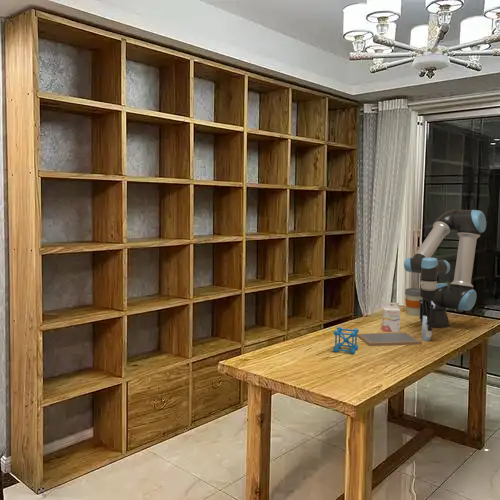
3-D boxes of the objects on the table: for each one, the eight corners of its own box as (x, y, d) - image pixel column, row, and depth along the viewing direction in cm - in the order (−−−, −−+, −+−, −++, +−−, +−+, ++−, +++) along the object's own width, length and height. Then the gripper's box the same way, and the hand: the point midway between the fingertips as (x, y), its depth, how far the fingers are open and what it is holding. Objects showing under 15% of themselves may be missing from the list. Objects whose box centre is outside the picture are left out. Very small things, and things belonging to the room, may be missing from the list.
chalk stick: (427, 338, 265) (428, 315, 264) (431, 340, 261) (432, 316, 260) (420, 338, 264) (421, 315, 263) (424, 341, 260) (425, 317, 259)
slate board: (405, 334, 272) (405, 332, 272) (421, 344, 255) (421, 341, 255) (356, 336, 269) (356, 333, 268) (370, 345, 251) (370, 343, 251)
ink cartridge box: (383, 331, 279) (384, 304, 277) (381, 329, 284) (382, 302, 282) (399, 332, 278) (400, 304, 276) (398, 329, 283) (399, 302, 281)
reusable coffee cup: (405, 316, 315) (406, 291, 314) (403, 311, 328) (403, 287, 326) (427, 317, 313) (428, 292, 312) (424, 312, 326) (425, 288, 324)
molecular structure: (332, 352, 240) (333, 330, 239) (337, 346, 249) (337, 325, 248) (354, 354, 236) (355, 333, 235) (358, 349, 246) (359, 328, 245)
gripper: (413, 286, 268) (411, 331, 270) (429, 292, 251) (427, 340, 254) (427, 286, 269) (425, 331, 271) (444, 292, 252) (442, 340, 255)
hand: (426, 335), depth 262 cm, fingers closed on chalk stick, 4 cm apart
